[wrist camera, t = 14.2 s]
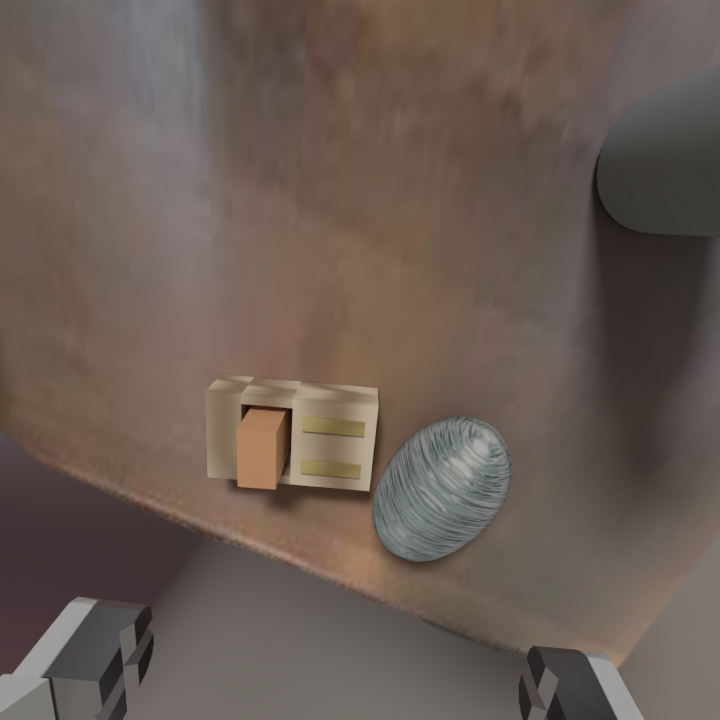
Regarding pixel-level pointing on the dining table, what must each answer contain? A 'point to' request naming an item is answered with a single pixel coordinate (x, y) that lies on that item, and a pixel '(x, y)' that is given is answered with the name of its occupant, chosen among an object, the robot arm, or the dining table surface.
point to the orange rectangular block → (263, 446)
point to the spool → (441, 488)
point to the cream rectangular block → (298, 429)
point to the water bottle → (666, 161)
